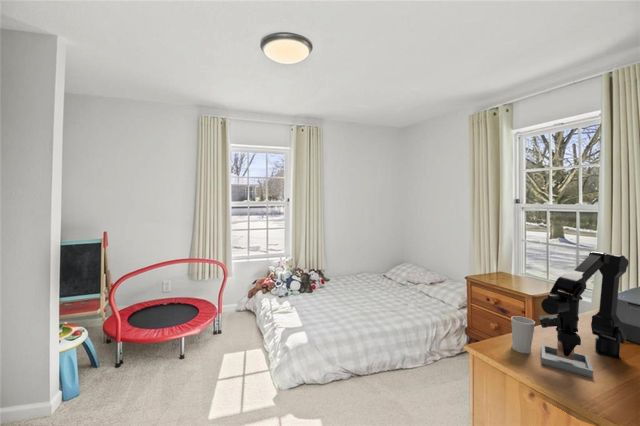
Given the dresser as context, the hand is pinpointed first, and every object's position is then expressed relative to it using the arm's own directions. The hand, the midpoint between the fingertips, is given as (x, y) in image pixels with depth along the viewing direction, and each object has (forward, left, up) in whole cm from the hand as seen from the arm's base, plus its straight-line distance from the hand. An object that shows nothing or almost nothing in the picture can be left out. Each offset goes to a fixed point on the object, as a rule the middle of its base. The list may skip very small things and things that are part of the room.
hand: (565, 353), depth 112 cm
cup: (+14, -2, -4) cm, 14 cm away
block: (0, 0, -1) cm, 1 cm away
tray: (0, 0, -4) cm, 4 cm away
